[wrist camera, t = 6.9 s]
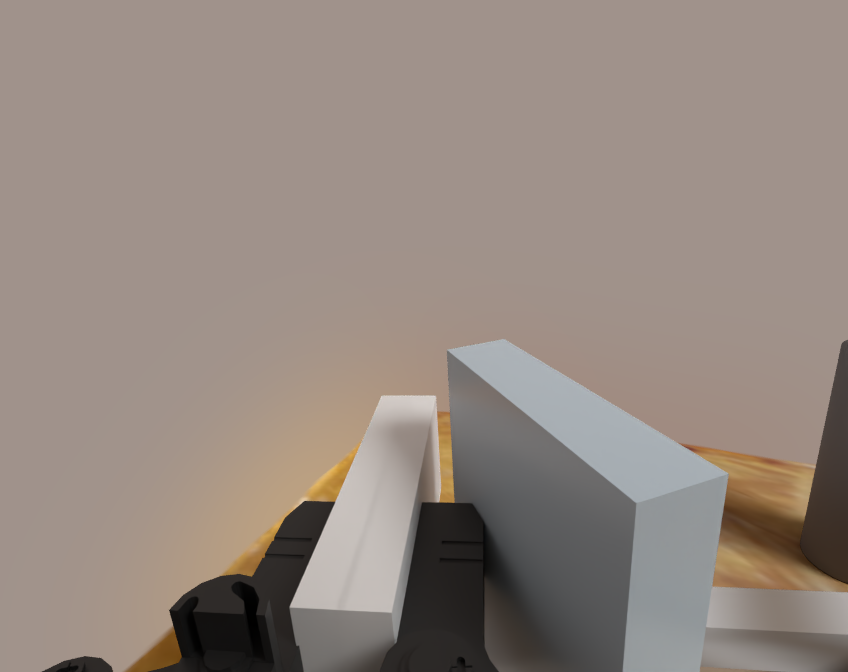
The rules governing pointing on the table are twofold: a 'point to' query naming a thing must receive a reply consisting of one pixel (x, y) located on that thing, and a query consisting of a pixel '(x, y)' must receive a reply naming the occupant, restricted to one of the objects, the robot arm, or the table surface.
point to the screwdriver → (831, 486)
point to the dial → (580, 521)
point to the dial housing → (775, 631)
